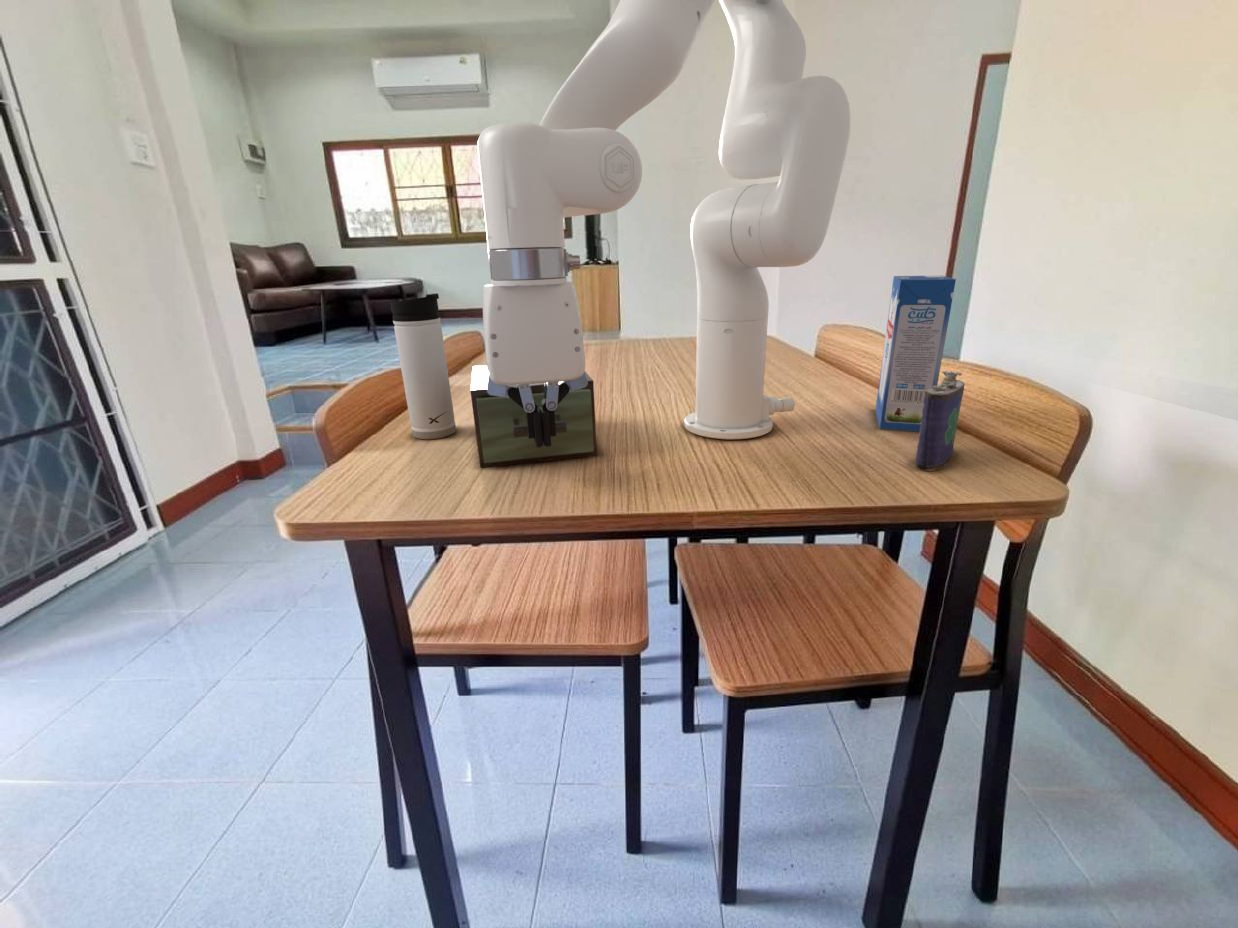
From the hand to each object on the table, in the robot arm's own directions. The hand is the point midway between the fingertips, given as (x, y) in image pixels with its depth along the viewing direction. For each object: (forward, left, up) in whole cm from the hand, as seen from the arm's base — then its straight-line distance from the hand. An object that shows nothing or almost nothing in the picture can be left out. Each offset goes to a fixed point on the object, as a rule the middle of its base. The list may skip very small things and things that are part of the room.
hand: (542, 443), depth 62 cm
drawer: (0, -11, -4) cm, 12 cm away
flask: (-46, +6, -5) cm, 47 cm away
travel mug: (+14, -25, -5) cm, 29 cm away
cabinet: (0, -16, -5) cm, 16 cm away
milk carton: (-53, -9, -5) cm, 54 cm away
